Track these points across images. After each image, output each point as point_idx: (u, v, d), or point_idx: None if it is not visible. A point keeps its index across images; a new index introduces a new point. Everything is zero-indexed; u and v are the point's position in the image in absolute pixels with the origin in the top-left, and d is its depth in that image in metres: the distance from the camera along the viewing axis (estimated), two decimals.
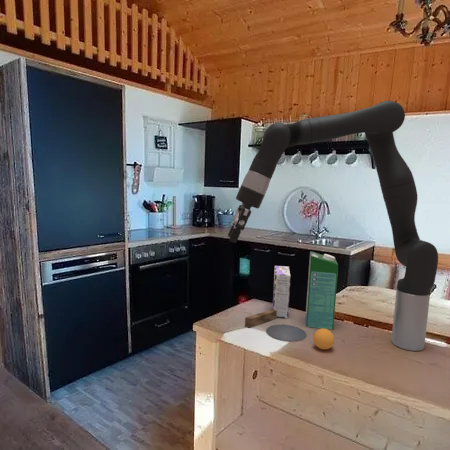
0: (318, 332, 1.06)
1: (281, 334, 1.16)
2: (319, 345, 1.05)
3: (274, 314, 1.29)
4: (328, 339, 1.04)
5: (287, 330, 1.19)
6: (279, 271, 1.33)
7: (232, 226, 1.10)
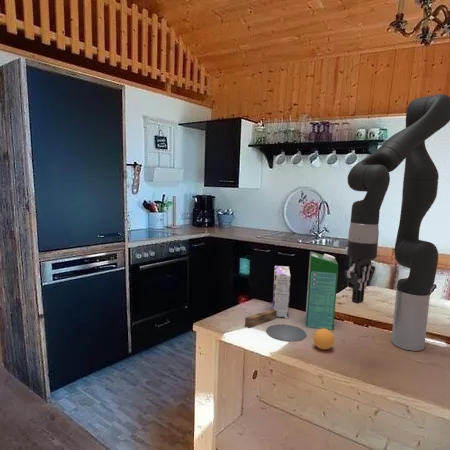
0: (318, 332, 1.06)
1: (281, 334, 1.16)
2: (319, 345, 1.05)
3: (274, 314, 1.29)
4: (328, 339, 1.04)
5: (287, 330, 1.19)
6: (279, 271, 1.33)
7: None
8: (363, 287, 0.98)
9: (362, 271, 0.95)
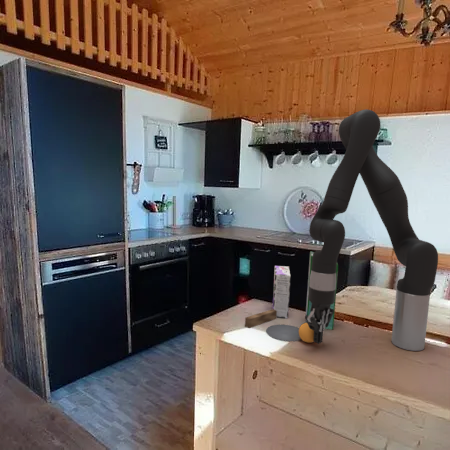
0: None
1: (281, 334, 1.16)
2: (306, 334, 1.09)
3: (274, 314, 1.29)
4: (303, 325, 1.11)
5: (287, 330, 1.19)
6: (279, 271, 1.33)
7: None
8: (322, 329, 1.07)
9: (321, 315, 1.04)
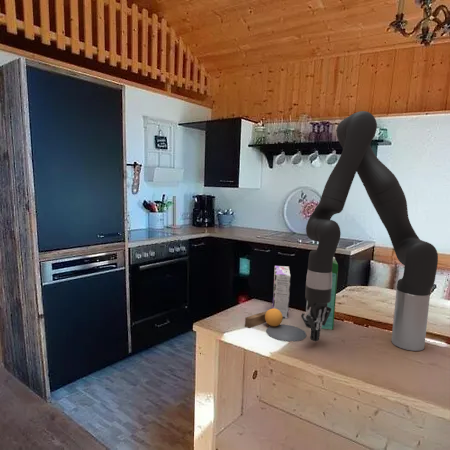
0: (267, 311, 1.22)
1: (281, 334, 1.16)
2: (269, 322, 1.21)
3: None
4: (275, 315, 1.20)
5: (287, 330, 1.19)
6: (279, 271, 1.33)
7: None
8: (319, 327, 1.08)
9: (318, 313, 1.06)
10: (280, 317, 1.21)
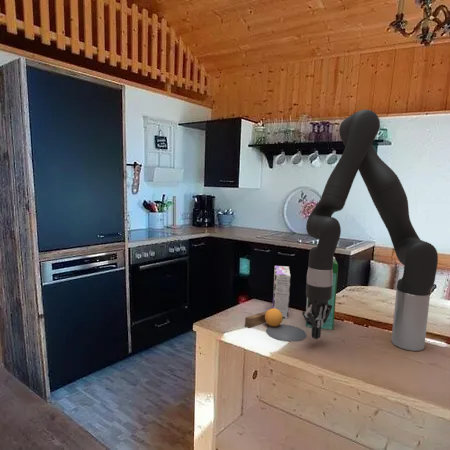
0: (267, 311, 1.22)
1: (281, 334, 1.16)
2: (269, 322, 1.21)
3: None
4: (275, 315, 1.20)
5: (287, 330, 1.19)
6: (279, 271, 1.33)
7: None
8: (320, 324, 1.08)
9: (318, 311, 1.06)
10: (280, 317, 1.21)
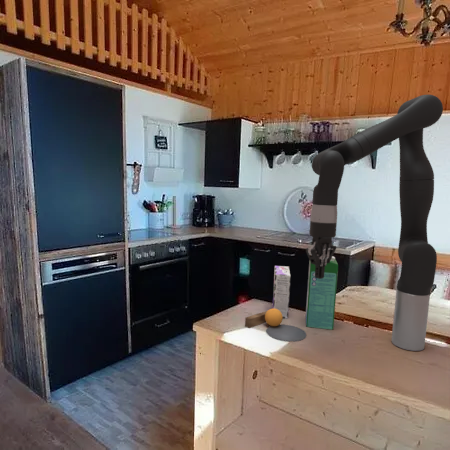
0: (267, 311, 1.22)
1: (281, 334, 1.16)
2: (269, 322, 1.21)
3: None
4: (275, 315, 1.20)
5: (287, 330, 1.19)
6: (279, 271, 1.33)
7: None
8: (323, 264, 1.06)
9: (322, 249, 1.04)
10: (280, 317, 1.21)
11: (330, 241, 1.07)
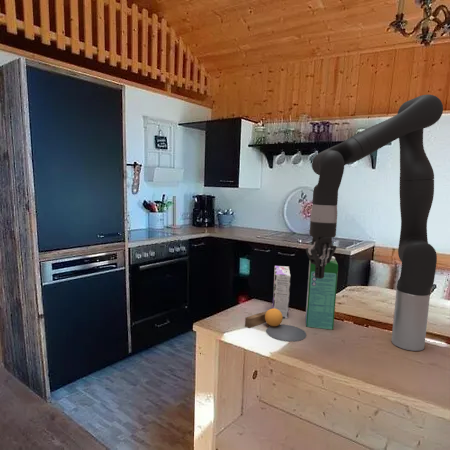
0: (267, 311, 1.22)
1: (281, 334, 1.16)
2: (269, 322, 1.21)
3: None
4: (275, 315, 1.20)
5: (287, 330, 1.19)
6: (279, 271, 1.33)
7: None
8: (323, 264, 1.06)
9: (322, 249, 1.04)
10: (280, 317, 1.21)
11: (330, 241, 1.07)
